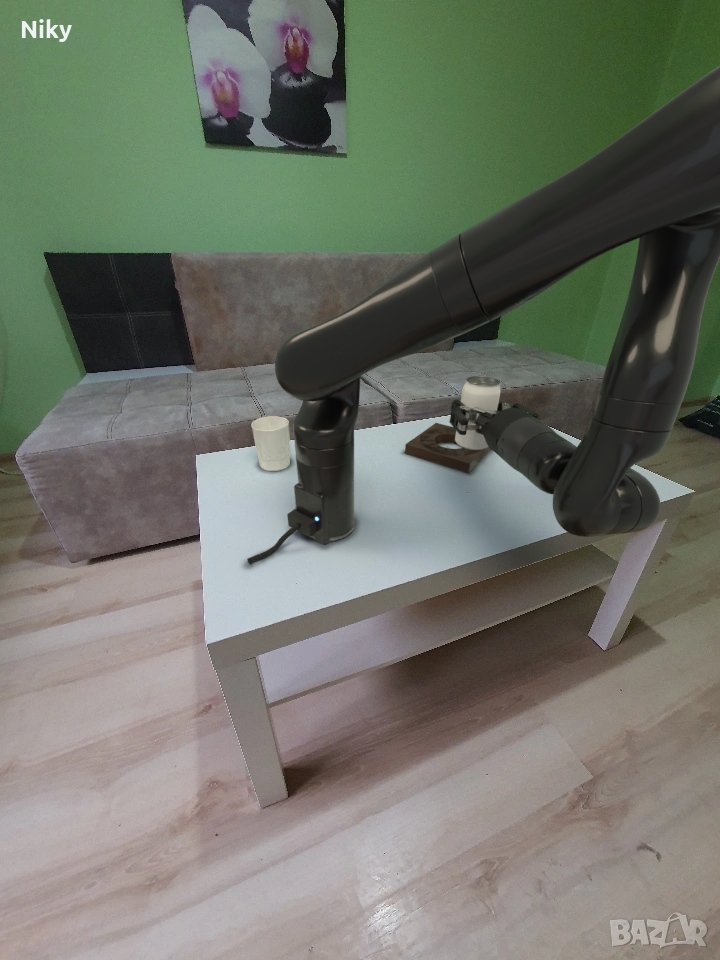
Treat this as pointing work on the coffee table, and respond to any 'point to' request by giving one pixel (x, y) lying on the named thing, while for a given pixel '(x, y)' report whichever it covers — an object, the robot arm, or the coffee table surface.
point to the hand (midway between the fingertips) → (472, 403)
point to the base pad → (444, 449)
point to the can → (479, 395)
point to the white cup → (272, 442)
